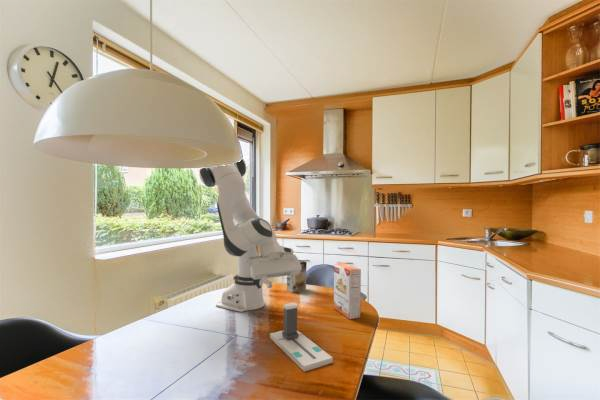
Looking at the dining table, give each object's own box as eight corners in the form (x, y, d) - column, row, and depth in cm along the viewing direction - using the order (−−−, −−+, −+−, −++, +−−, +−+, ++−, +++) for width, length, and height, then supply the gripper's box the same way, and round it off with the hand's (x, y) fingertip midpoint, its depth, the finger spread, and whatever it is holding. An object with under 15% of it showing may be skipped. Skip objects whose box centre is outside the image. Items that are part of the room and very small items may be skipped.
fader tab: (281, 335, 101) (282, 303, 101) (293, 332, 103) (293, 301, 104) (287, 340, 98) (287, 307, 98) (298, 337, 100) (298, 305, 100)
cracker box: (332, 308, 133) (333, 263, 134) (344, 307, 135) (344, 262, 136) (348, 320, 120) (349, 269, 120) (361, 318, 122) (361, 268, 123)
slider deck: (269, 337, 103) (269, 333, 103) (294, 331, 108) (294, 327, 108) (304, 371, 82) (304, 366, 82) (332, 362, 87) (332, 357, 87)
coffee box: (292, 293, 156) (292, 263, 156) (286, 290, 162) (286, 261, 162) (306, 290, 161) (306, 261, 161) (300, 287, 166) (300, 259, 167)
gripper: (248, 252, 109) (257, 284, 100) (296, 248, 119) (308, 277, 110) (244, 262, 113) (253, 294, 104) (291, 257, 123) (302, 286, 114)
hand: (281, 285), depth 107 cm, fingers open, 8 cm apart
